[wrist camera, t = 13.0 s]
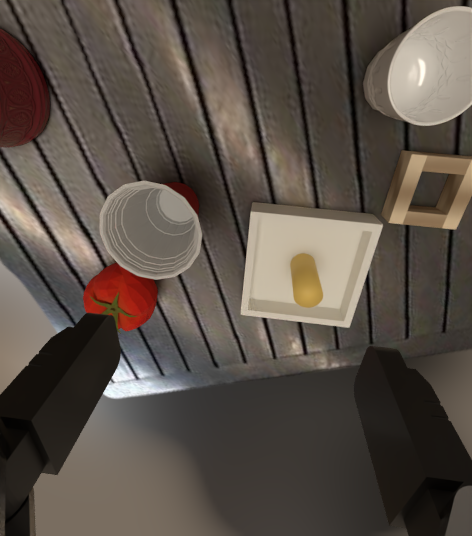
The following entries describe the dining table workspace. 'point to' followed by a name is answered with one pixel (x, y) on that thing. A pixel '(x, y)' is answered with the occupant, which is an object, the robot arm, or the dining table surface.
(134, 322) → the tomato
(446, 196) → the socket block
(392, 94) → the white cup
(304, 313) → the tray
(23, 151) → the dining table surface
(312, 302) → the dowel
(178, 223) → the plastic cup
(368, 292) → the dining table surface
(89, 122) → the dining table surface
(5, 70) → the canister
